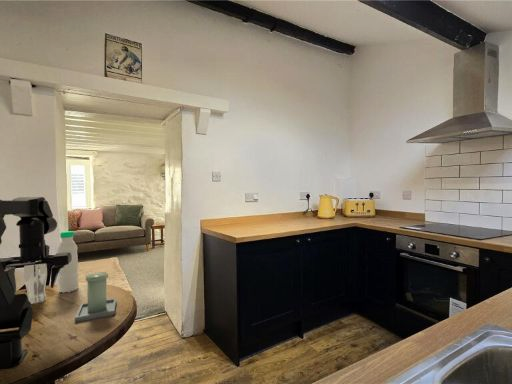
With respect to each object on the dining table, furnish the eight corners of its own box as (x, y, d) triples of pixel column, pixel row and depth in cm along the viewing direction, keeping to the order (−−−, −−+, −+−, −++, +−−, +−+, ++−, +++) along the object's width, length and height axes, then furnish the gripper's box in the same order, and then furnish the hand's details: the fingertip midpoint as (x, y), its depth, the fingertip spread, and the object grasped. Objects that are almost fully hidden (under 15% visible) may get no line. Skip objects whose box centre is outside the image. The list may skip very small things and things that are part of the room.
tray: (114, 315, 94) (114, 310, 94) (75, 322, 89) (74, 317, 89) (116, 302, 104) (116, 298, 104) (81, 307, 100) (81, 303, 100)
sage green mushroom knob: (106, 311, 95) (106, 277, 95) (84, 314, 93) (84, 279, 93) (109, 303, 102) (108, 271, 102) (87, 306, 99) (87, 273, 99)
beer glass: (35, 305, 102) (33, 265, 102) (19, 304, 103) (18, 264, 103) (52, 298, 109) (51, 260, 108) (37, 296, 110) (36, 259, 110)
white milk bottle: (80, 286, 122) (78, 229, 121) (76, 291, 115) (74, 232, 114) (61, 288, 119) (59, 230, 118) (56, 294, 112) (54, 233, 112)
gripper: (74, 232, 94) (75, 277, 94) (3, 236, 86) (5, 286, 87) (67, 237, 83) (68, 288, 84) (-14, 243, 76) (-12, 299, 76)
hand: (33, 290), depth 83 cm, fingers open, 9 cm apart
